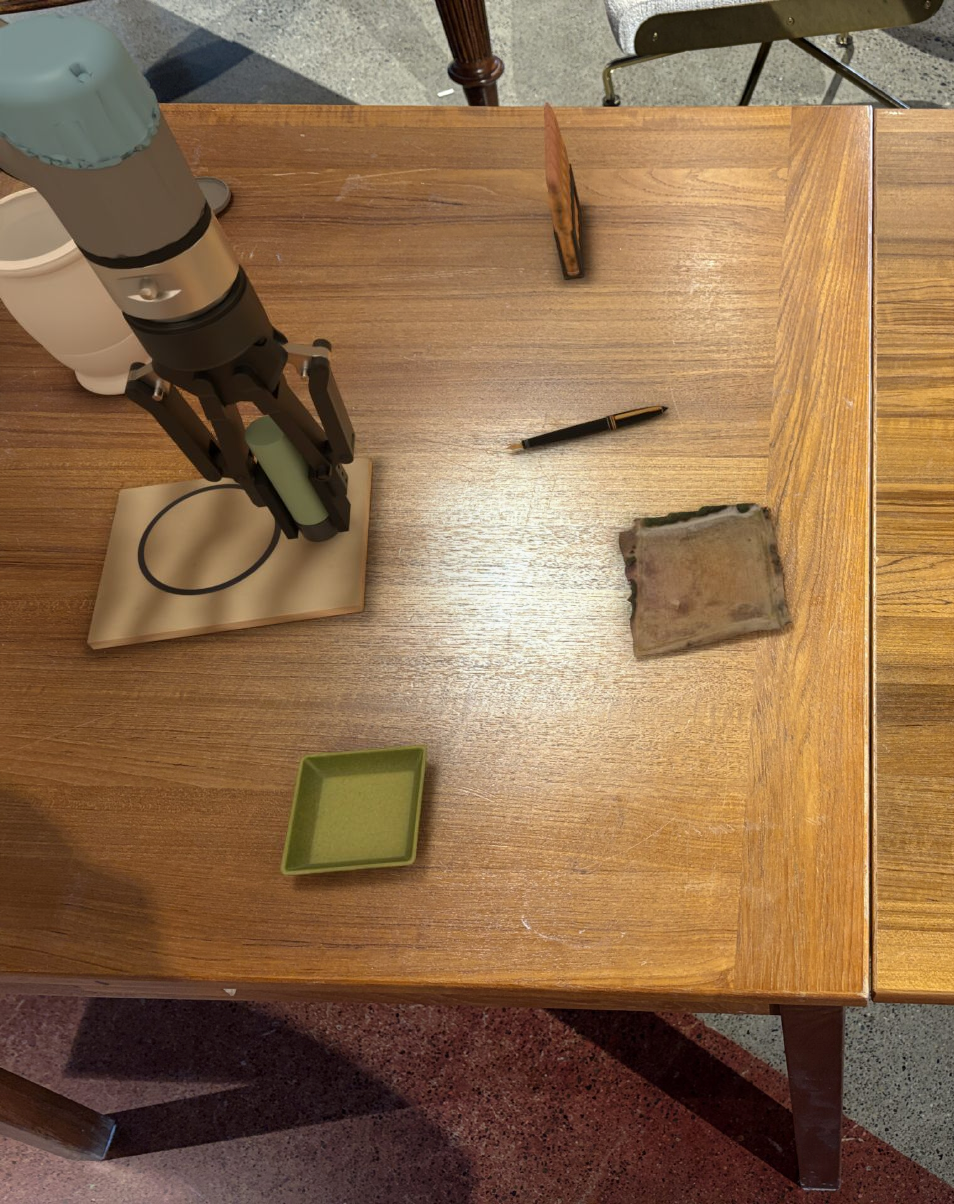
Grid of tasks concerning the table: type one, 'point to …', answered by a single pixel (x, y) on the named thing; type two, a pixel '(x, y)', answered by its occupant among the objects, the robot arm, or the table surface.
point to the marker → (290, 478)
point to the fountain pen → (592, 427)
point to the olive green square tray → (355, 810)
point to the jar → (62, 296)
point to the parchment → (702, 577)
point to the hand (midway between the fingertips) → (319, 521)
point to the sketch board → (222, 563)
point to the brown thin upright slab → (563, 199)
